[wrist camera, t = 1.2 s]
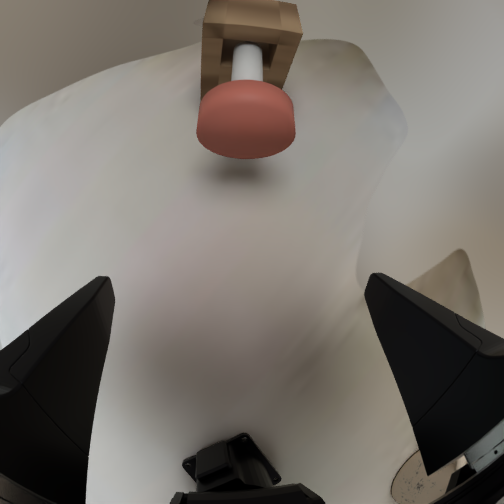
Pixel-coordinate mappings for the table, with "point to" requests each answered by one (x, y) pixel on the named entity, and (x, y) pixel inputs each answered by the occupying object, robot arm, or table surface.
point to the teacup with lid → (422, 481)
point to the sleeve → (248, 38)
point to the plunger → (246, 111)
